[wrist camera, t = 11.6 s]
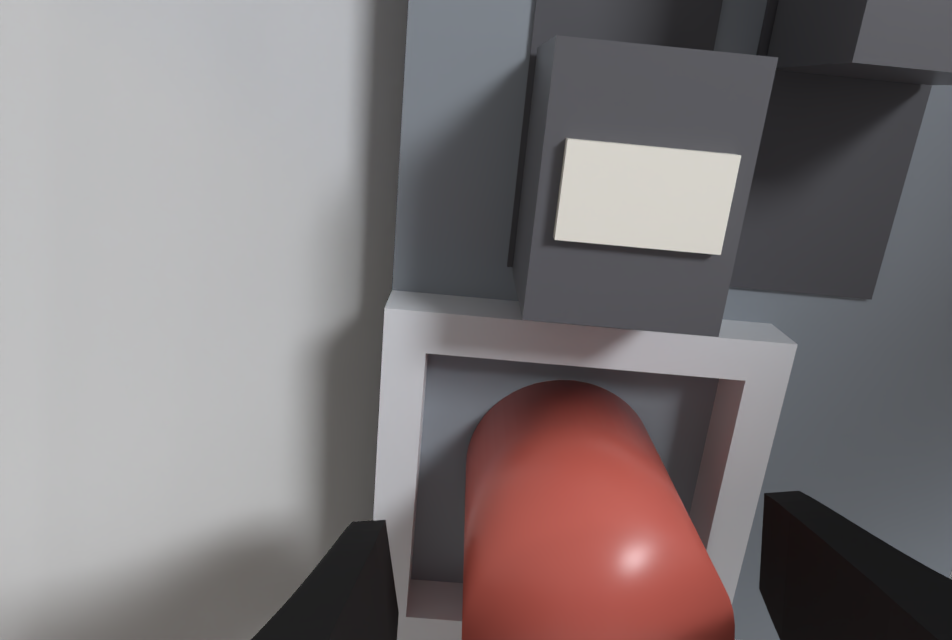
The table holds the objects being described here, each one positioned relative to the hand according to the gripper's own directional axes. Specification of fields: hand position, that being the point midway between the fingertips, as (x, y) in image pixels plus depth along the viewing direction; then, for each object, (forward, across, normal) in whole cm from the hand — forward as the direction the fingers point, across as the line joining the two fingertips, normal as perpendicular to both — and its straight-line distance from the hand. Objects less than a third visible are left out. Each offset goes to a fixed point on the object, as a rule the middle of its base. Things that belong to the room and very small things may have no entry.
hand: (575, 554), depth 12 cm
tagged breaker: (+2, -1, -6) cm, 7 cm away
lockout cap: (+3, 0, 0) cm, 3 cm away
